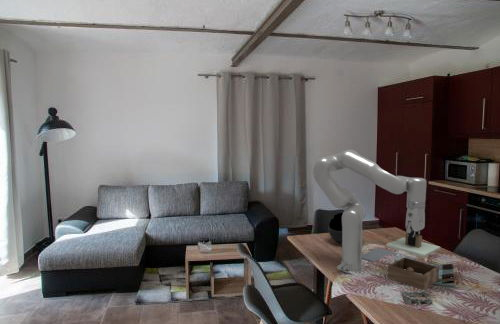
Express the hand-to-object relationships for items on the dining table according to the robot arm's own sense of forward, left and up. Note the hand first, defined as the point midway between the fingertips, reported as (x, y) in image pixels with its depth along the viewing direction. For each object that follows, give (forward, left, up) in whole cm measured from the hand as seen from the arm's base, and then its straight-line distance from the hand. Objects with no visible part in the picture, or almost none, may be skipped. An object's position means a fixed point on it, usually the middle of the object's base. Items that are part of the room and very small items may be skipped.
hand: (413, 243), depth 152 cm
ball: (+4, +3, -17) cm, 17 cm away
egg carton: (-18, -10, -18) cm, 27 cm away
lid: (0, 0, -2) cm, 2 cm away
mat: (+18, +22, -18) cm, 33 cm away
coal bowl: (+22, +52, -18) cm, 59 cm away
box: (0, 0, -18) cm, 18 cm away
